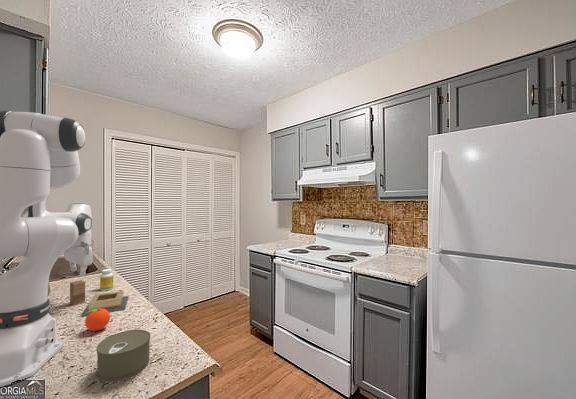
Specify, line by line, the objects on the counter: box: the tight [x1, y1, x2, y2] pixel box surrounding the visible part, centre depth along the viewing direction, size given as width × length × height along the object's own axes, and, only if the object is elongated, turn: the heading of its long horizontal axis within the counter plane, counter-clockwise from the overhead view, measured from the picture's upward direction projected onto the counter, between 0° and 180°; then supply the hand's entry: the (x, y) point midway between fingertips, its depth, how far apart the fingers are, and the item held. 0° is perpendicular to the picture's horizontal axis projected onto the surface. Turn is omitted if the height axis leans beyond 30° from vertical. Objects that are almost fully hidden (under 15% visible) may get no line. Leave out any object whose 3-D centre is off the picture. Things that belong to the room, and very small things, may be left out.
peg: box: [69, 280, 86, 307], centre depth 110 cm, size 4×4×9 cm
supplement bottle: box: [99, 268, 114, 292], centre depth 128 cm, size 5×5×10 cm
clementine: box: [84, 308, 111, 332], centre depth 87 cm, size 8×7×7 cm
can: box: [96, 329, 151, 383], centre depth 68 cm, size 12×12×7 cm
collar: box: [81, 290, 130, 317], centre depth 107 cm, size 14×14×4 cm
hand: (77, 272), depth 111 cm, fingers open, 8 cm apart
